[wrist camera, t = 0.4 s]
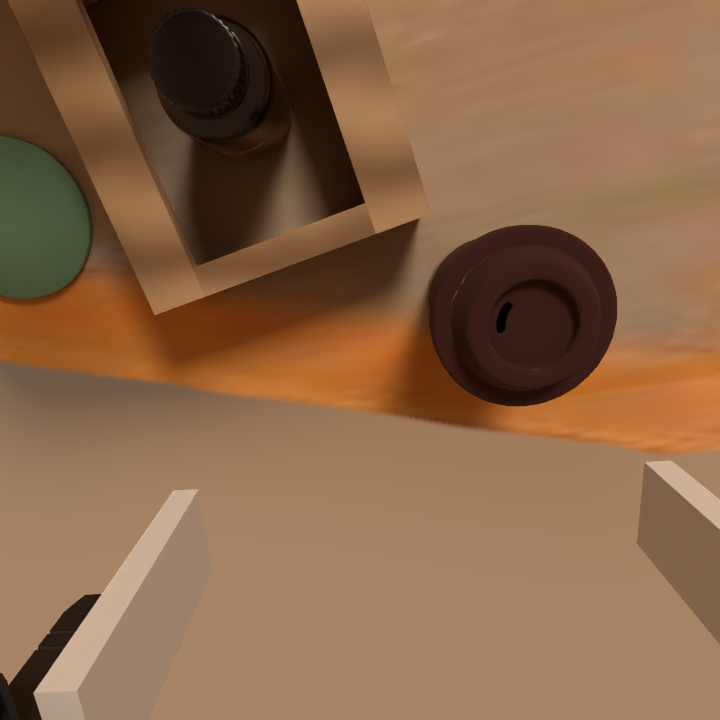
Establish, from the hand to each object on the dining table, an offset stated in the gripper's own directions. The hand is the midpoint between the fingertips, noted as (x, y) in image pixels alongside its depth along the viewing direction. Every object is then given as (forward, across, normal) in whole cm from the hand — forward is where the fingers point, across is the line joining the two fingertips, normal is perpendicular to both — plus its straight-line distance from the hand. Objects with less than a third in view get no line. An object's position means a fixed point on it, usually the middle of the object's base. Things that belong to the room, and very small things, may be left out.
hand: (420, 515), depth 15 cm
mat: (+27, -28, +10) cm, 41 cm away
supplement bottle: (+28, -9, +16) cm, 33 cm away
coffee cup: (+27, +7, +2) cm, 28 cm away
